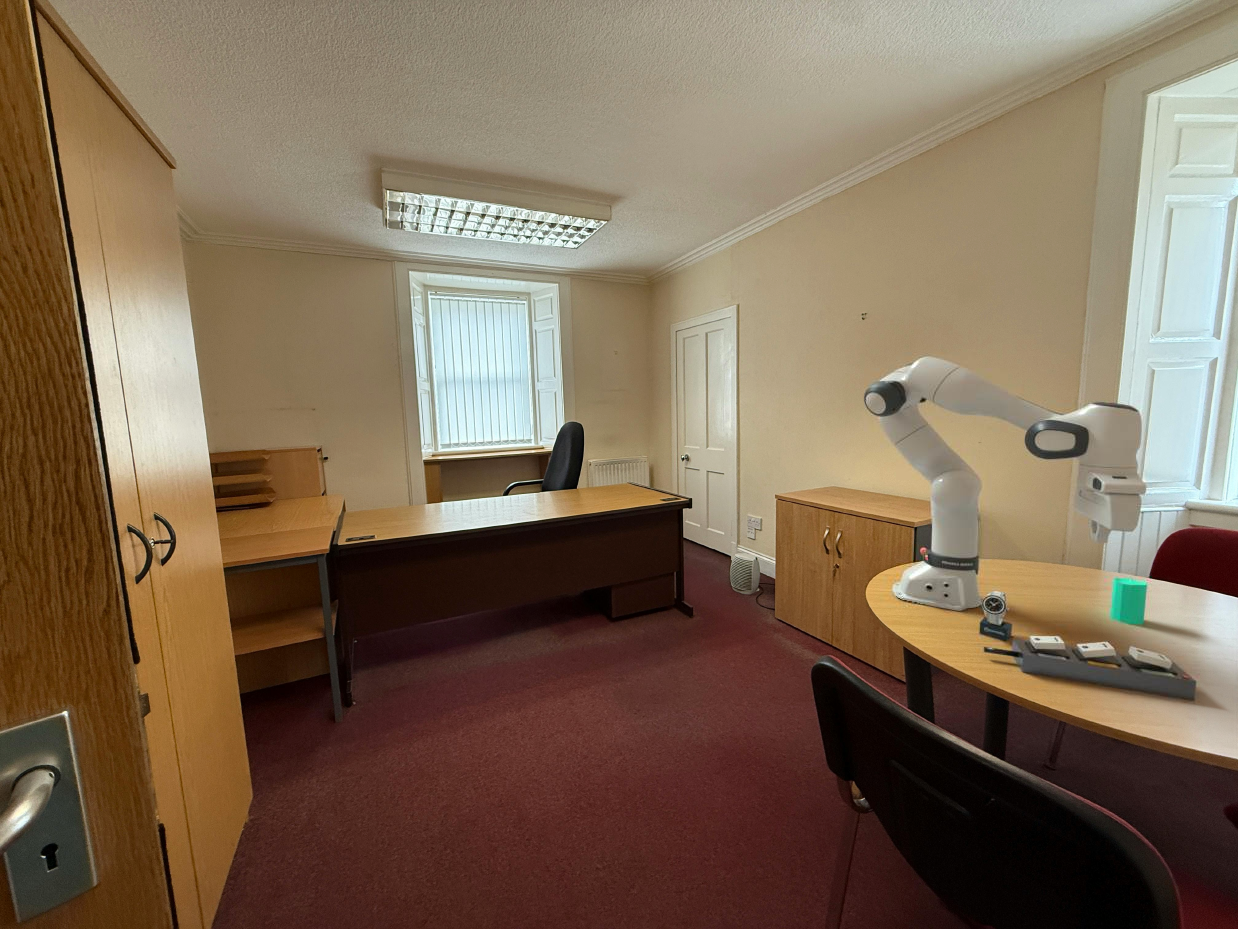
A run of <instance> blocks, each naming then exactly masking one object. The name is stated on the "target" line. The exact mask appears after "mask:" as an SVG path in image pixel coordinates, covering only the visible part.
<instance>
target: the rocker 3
mask: <svg viewBox="0 0 1238 929" xmlns="http://www.w3.org/2000/svg"><path fill="white" fill-rule="evenodd" d="M1128 653H1129V655H1132V656H1133V657H1134V658H1135V659H1136V660H1139V661H1143V662H1147V663H1150V664H1154V665H1158V666H1161V667H1165V668H1169V669H1170V668H1171V665H1172V662H1171V661H1172V660H1171V659H1169V658H1168V657H1166V656H1165V655H1164V654H1161V653H1159V652H1155V651H1151V650H1146V649H1142V648H1138V647H1135V646H1132V645H1130V646H1129V649H1128Z"/></svg>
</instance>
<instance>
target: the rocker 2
mask: <svg viewBox="0 0 1238 929" xmlns="http://www.w3.org/2000/svg"><path fill="white" fill-rule="evenodd" d="M1076 647H1078V649H1079V651H1080V652H1081V653H1082V655H1083V656H1084V657H1085V658H1087V657H1100V656H1113V655H1116V653H1117V652H1116V650H1115V648H1114V646H1112V645H1111V644H1110V643H1109V642H1108V641H1101V642H1100V641H1099V642H1098V641H1097V642H1088V643H1077V644H1076Z"/></svg>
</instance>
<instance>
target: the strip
mask: <svg viewBox="0 0 1238 929" xmlns="http://www.w3.org/2000/svg"><path fill="white" fill-rule="evenodd" d="M1011 643H1012V646H1011V650H1007V649H1002V648H996V647H990V646H989V647H988V646H983V653H986V654H987V653H988V654H993V655H1001V656H1005V657H1013V659H1014V661H1015V662H1016V664H1017V666H1018V668H1019V669H1020V671H1021V672H1022V673H1026V674H1032V675H1038V676H1044V677H1049V678H1050V677H1051V678H1054V679H1055V678H1056V679H1062V680H1069V681H1075V682H1079V683H1085V684H1091V685H1099V686H1103V687H1109V688H1110V687H1111V688H1115V689H1121V690H1127V691H1134V692H1139V693H1145V694H1152V695H1157V696H1162V697H1163V696H1164V697H1170V698H1176V699H1181V700H1187V701H1193V702H1194V701H1195V697H1196V696H1195V695H1196V688H1197V681H1196V679H1194V678H1193V677H1192V676H1191V675H1190V674H1188V672H1186V671H1185V670H1183V668H1181V667H1180V666H1179V665H1178V664H1176V663H1175V662H1174V661H1173V660H1170V661H1171V662H1172V665H1171V668H1170V669H1169V668H1165V667H1161V666H1158V665H1154V664H1150V663H1147V662H1143V661H1139V660H1136V659H1135V658H1134V657H1133V656H1132V655H1131V654H1126V653H1118V652H1116V655H1113V656H1100V657H1087V658H1085V657H1084V656H1083V655H1082V653H1081V652H1080V651H1079V649H1078V647H1077V646H1070V645H1065V649H1035V648H1034V646H1033V645H1032V643H1031V641H1030V639H1021V638H1014V637H1012V642H1011Z"/></svg>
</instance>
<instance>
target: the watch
mask: <svg viewBox="0 0 1238 929" xmlns="http://www.w3.org/2000/svg"><path fill="white" fill-rule="evenodd" d="M981 601H982V604H981V607H982V610H983V613H984V617H983V618H982V619H981V620H980V622H979V633H978V634H980V635H983V636H986V637H990V638H994V639H997V640H1001V641H1004V642H1007V641H1009V639H1010V638H1011V637H1012V634H1013V633H1012V629H1013V623H1011V622H1008V621H1007V622H1006V621H1003V620H1004V619H1005V616H1006V612H1007V611H1010V607H1009V606H1008V605H1007V595H1006V593H1005V592H1000V591H997V590H992V591H991V592H989V593H988V594H987V595H985V597H983V599H981Z"/></svg>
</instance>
